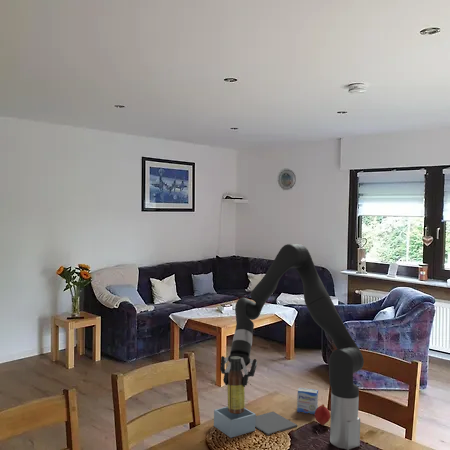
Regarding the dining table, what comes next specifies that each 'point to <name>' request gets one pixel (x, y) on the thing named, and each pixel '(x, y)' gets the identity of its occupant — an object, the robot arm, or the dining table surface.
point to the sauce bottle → (235, 387)
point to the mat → (273, 423)
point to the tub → (234, 422)
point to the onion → (322, 414)
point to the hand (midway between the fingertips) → (234, 384)
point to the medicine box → (307, 400)
